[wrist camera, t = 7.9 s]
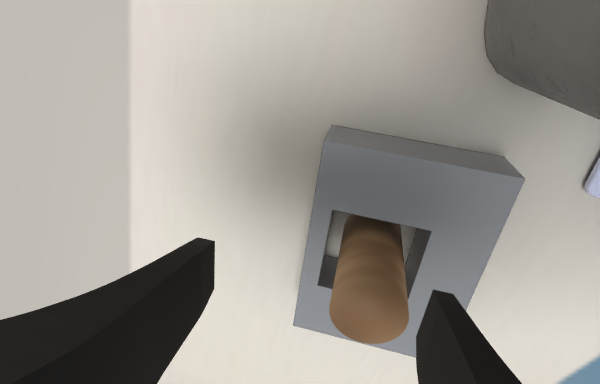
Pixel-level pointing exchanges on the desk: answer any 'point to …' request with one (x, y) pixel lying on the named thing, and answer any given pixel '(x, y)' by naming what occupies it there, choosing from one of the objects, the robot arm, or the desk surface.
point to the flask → (548, 48)
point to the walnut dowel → (370, 282)
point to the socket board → (407, 218)
